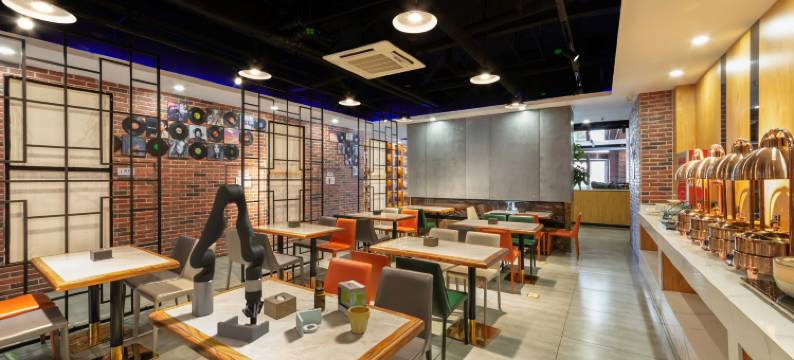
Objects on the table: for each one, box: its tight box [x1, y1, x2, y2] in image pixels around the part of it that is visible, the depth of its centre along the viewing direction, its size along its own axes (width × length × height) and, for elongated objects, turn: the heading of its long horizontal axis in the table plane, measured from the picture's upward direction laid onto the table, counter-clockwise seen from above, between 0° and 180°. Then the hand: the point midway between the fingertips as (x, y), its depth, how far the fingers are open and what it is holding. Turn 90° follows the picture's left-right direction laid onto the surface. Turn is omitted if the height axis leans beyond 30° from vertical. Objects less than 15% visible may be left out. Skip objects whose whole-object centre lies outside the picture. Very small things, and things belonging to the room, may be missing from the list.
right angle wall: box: [295, 308, 322, 338], centre depth 162 cm, size 12×12×8 cm
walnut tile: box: [243, 322, 258, 327], centre depth 159 cm, size 6×6×3 cm
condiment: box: [308, 286, 328, 313], centre depth 186 cm, size 7×8×12 cm
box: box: [216, 315, 270, 343], centre depth 157 cm, size 19×11×6 cm, turn 73°
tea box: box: [337, 280, 367, 317], centre depth 184 cm, size 15×10×15 cm
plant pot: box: [347, 306, 371, 335], centre depth 161 cm, size 10×10×10 cm
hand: (253, 324), depth 163 cm, fingers closed
